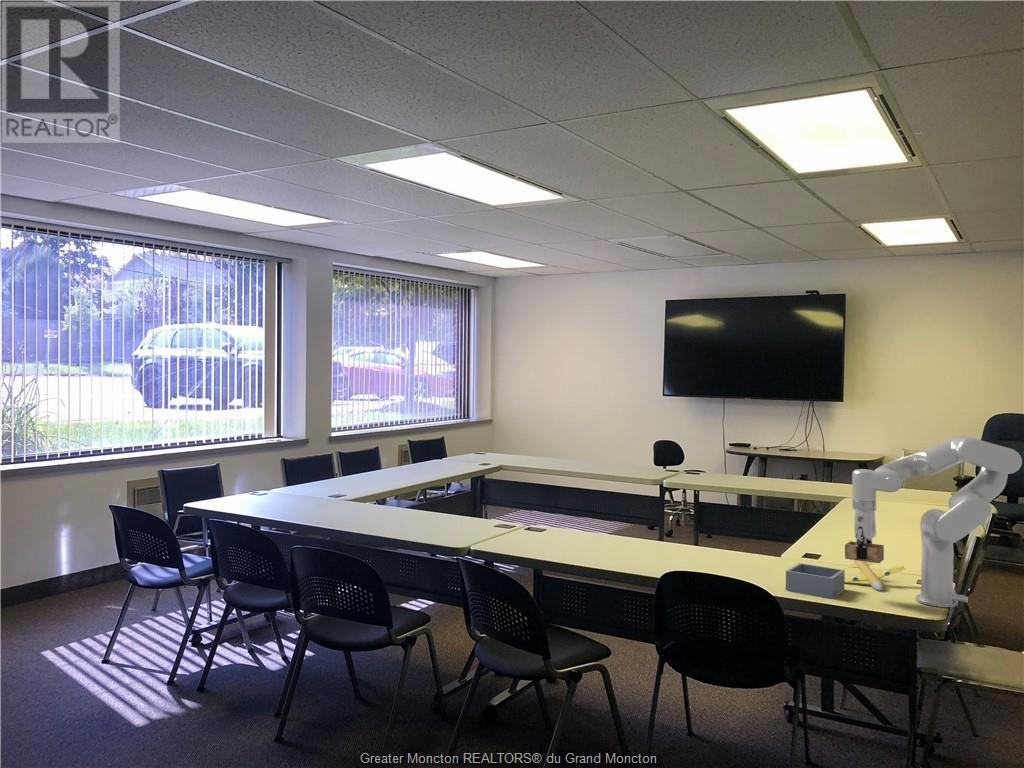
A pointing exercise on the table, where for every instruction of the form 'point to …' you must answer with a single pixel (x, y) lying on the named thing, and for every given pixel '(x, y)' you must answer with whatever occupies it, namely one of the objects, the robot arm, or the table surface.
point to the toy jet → (870, 574)
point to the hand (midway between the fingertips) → (864, 556)
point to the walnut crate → (873, 552)
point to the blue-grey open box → (815, 580)
